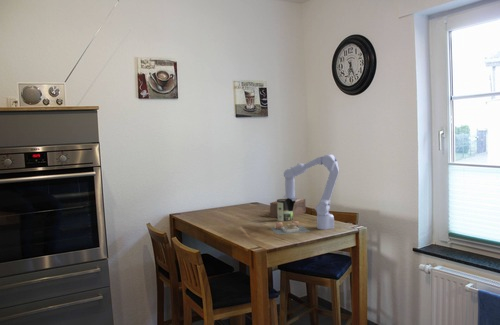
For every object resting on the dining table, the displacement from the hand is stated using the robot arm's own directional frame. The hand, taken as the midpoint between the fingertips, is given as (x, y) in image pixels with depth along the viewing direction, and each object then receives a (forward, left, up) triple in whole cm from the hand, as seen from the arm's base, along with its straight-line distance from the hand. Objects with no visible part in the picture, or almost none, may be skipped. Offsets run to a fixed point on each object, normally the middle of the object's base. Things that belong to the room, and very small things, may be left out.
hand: (290, 211), depth 236 cm
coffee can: (-2, -18, -10) cm, 21 cm away
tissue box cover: (-11, -38, -10) cm, 41 cm away
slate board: (+4, +10, -10) cm, 15 cm away
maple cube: (+4, +13, -9) cm, 16 cm away
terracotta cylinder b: (+9, +6, -9) cm, 14 cm away
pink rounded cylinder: (-1, +6, -9) cm, 11 cm away
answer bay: (+4, +12, -9) cm, 15 cm away
